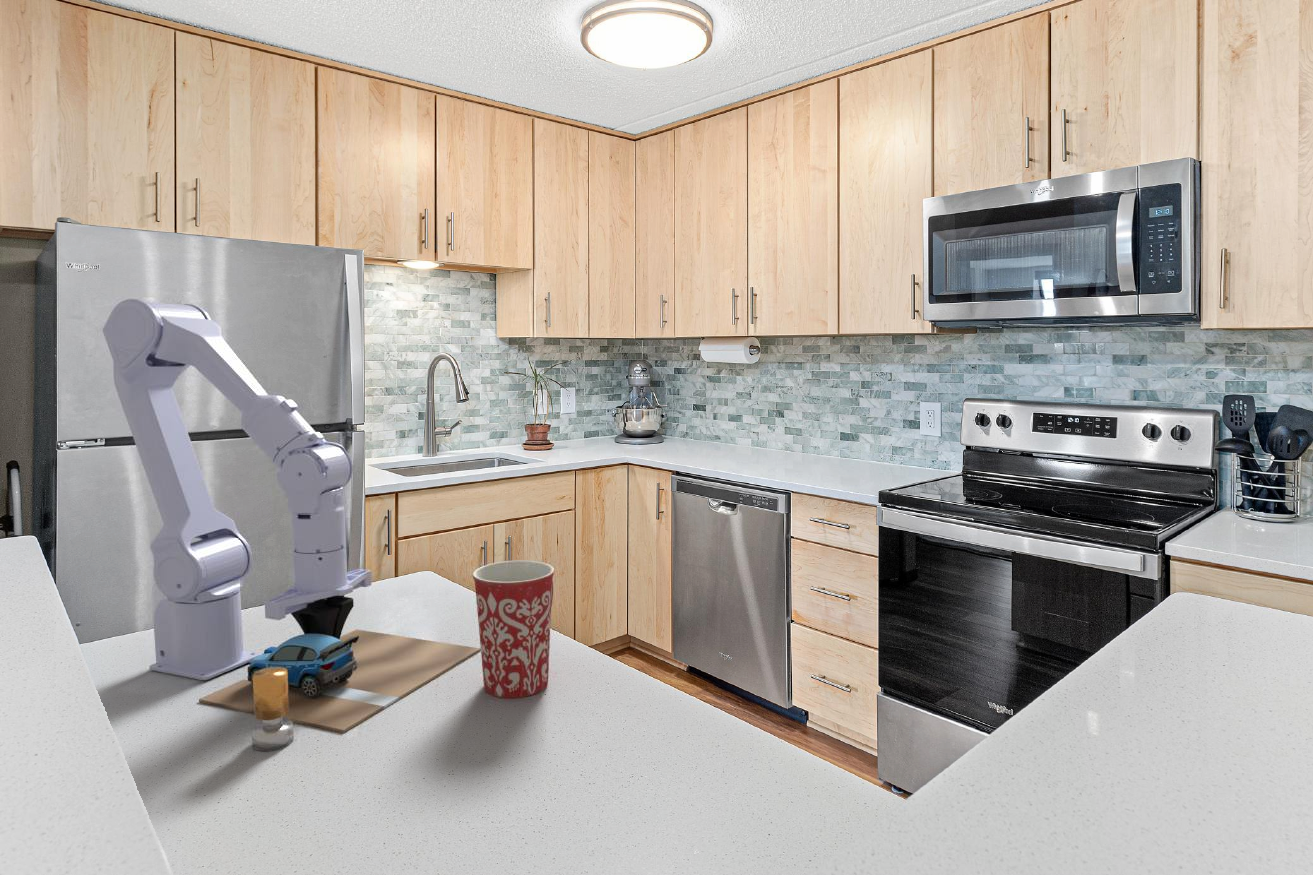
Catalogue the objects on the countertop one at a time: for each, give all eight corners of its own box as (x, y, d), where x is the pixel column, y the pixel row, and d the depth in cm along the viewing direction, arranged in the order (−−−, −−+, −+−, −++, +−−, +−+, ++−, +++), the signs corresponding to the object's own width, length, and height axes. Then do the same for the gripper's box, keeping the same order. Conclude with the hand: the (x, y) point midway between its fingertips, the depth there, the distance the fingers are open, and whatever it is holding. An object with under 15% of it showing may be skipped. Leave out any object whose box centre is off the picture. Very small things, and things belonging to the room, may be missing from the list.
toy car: (278, 669, 94) (276, 623, 94) (364, 680, 91) (362, 632, 90) (239, 688, 88) (236, 639, 88) (329, 701, 85) (327, 650, 84)
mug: (530, 708, 84) (527, 584, 83) (459, 695, 88) (456, 576, 86) (584, 665, 96) (583, 557, 95) (519, 655, 99) (517, 550, 98)
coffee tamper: (243, 747, 75) (240, 678, 75) (271, 730, 79) (268, 663, 78) (274, 754, 74) (271, 683, 74) (301, 735, 78) (299, 668, 77)
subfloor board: (199, 701, 86) (198, 699, 86) (356, 631, 108) (356, 629, 108) (343, 732, 79) (343, 729, 79) (480, 650, 101) (480, 648, 101)
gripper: (297, 566, 84) (303, 689, 85) (389, 537, 97) (393, 644, 99) (247, 560, 86) (254, 679, 88) (344, 533, 100) (348, 637, 101)
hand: (324, 660), depth 93 cm, fingers closed
